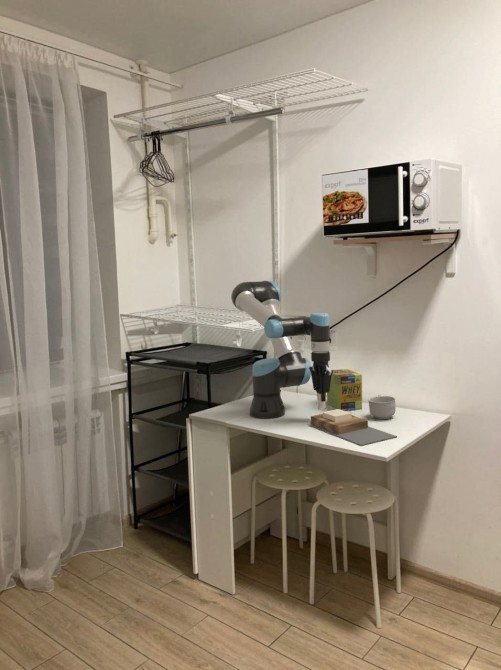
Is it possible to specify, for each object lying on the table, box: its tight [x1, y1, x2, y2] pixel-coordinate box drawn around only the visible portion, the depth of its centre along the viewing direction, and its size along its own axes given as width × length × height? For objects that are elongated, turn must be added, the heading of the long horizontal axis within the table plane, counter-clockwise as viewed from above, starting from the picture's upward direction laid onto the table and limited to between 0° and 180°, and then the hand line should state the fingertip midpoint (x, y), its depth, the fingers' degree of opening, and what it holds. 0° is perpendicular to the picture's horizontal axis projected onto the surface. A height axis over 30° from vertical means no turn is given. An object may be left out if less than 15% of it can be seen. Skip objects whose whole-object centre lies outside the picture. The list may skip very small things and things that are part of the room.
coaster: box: [322, 408, 353, 422], centre depth 227 cm, size 8×8×2 cm
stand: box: [310, 413, 369, 434], centre depth 226 cm, size 18×14×3 cm
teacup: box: [367, 394, 396, 420], centre depth 239 cm, size 14×11×8 cm
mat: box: [310, 424, 398, 447], centre depth 220 cm, size 30×17×1 cm, turn 30°
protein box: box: [326, 368, 363, 412], centre depth 256 cm, size 10×15×16 cm
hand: (321, 408), depth 235 cm, fingers closed
